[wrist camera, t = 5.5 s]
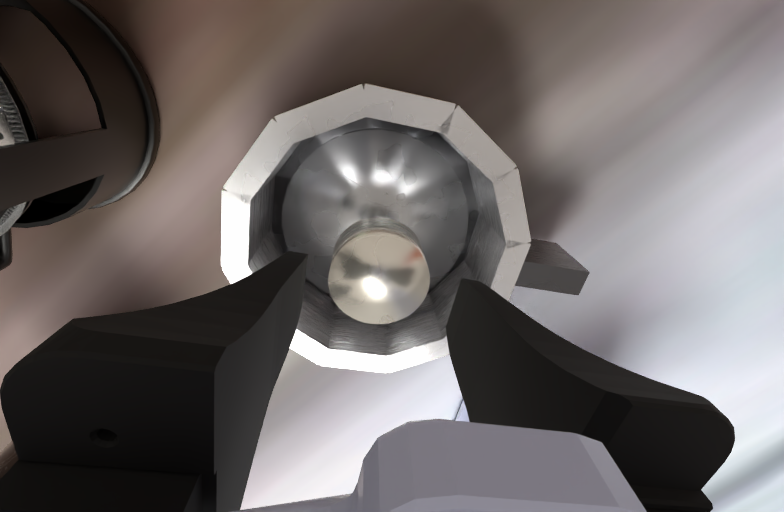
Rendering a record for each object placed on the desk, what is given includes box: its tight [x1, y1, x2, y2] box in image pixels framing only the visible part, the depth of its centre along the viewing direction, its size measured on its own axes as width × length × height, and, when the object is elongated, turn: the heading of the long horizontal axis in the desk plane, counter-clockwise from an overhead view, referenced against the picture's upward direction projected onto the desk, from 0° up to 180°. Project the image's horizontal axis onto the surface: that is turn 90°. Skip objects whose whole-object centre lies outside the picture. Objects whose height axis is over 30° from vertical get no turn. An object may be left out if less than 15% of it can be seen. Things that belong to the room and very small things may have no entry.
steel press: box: [221, 83, 589, 373], centre depth 17 cm, size 15×12×5 cm
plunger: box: [282, 128, 468, 324], centre depth 15 cm, size 9×9×6 cm
